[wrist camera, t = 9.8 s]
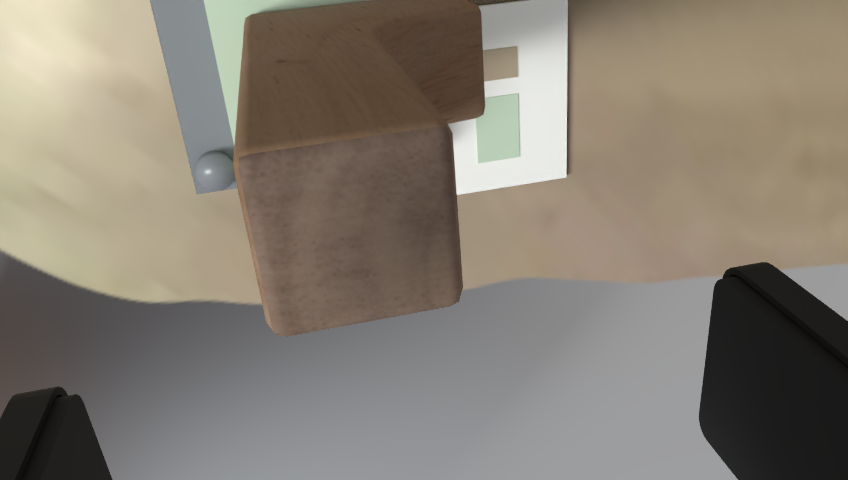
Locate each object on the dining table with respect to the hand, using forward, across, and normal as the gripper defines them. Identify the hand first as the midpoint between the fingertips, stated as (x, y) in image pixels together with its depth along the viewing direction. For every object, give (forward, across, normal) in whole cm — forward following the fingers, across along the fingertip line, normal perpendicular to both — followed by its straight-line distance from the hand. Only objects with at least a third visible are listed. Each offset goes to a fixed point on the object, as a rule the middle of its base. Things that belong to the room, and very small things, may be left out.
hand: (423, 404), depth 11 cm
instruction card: (+28, -9, +4) cm, 30 cm away
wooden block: (+24, -2, 0) cm, 24 cm away
